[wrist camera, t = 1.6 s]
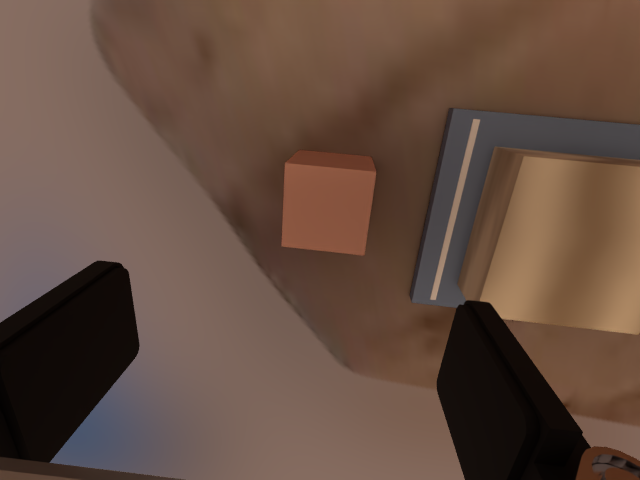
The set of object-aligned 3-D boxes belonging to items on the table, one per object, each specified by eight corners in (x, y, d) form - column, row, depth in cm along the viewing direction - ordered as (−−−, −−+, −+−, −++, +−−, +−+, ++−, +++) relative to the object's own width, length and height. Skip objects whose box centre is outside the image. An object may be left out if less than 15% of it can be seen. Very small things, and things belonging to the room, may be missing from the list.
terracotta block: (371, 156, 24) (376, 172, 18) (362, 224, 25) (364, 255, 20) (299, 149, 24) (285, 163, 19) (295, 217, 26) (281, 246, 21)
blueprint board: (711, 131, 21) (729, 132, 20) (617, 319, 26) (627, 328, 25) (449, 108, 22) (454, 108, 21) (409, 295, 27) (411, 303, 26)
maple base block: (659, 161, 21) (724, 174, 17) (595, 299, 25) (638, 334, 21) (494, 146, 22) (523, 156, 18) (457, 284, 25) (475, 315, 22)
